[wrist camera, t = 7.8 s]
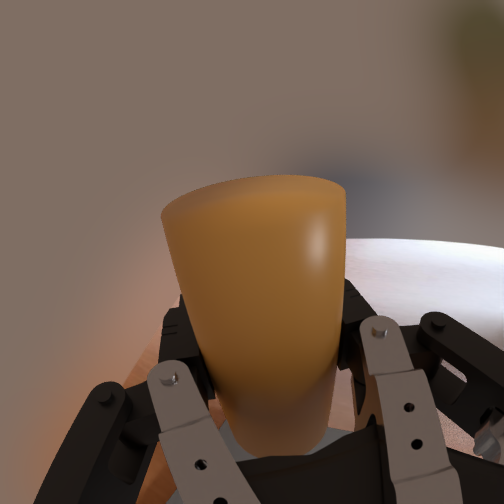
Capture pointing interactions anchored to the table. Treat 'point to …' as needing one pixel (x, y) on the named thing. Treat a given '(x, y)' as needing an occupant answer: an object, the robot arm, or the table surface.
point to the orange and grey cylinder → (265, 301)
